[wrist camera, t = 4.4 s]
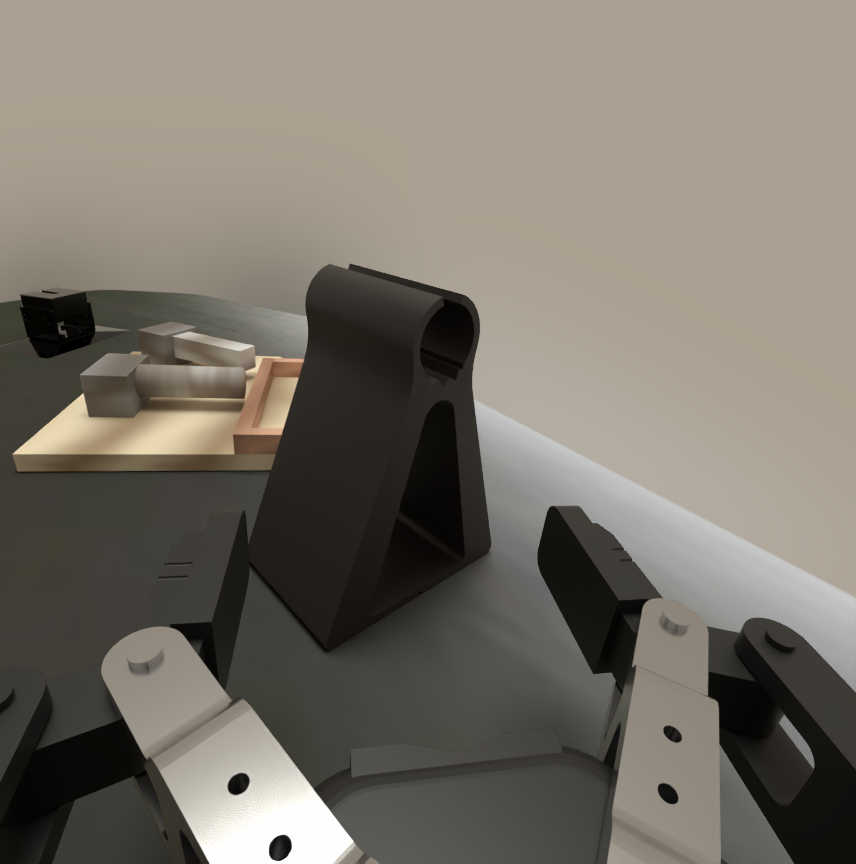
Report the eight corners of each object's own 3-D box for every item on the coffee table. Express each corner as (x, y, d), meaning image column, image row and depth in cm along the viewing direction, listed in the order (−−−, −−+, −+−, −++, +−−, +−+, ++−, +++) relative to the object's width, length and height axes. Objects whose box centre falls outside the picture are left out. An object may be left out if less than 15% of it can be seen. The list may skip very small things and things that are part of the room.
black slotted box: (84, 324, 50) (74, 277, 48) (151, 333, 50) (143, 286, 48) (-39, 360, 39) (-59, 301, 37) (44, 373, 39) (28, 313, 37)
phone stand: (406, 494, 27) (426, 261, 22) (490, 552, 23) (540, 288, 18) (245, 561, 21) (221, 266, 16) (324, 654, 17) (326, 307, 12)
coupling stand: (17, 471, 25) (-3, 406, 24) (134, 363, 40) (126, 319, 39) (419, 469, 29) (424, 413, 28) (389, 371, 44) (392, 331, 43)
